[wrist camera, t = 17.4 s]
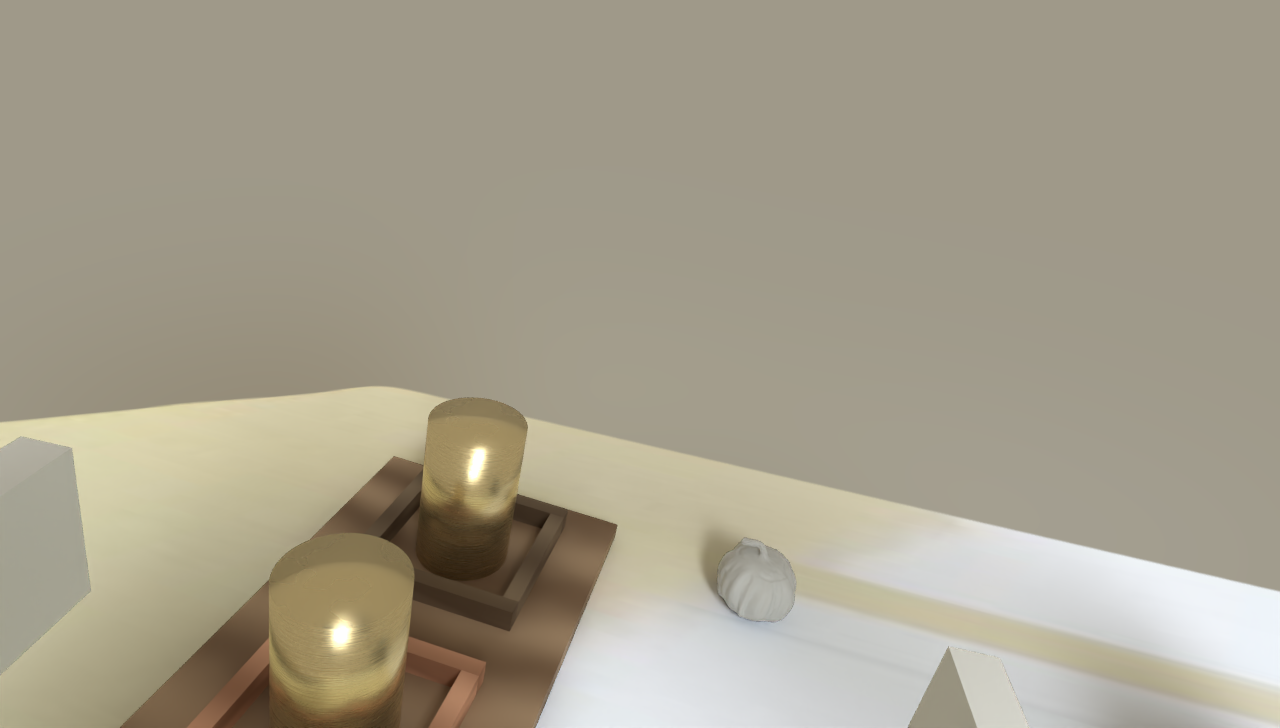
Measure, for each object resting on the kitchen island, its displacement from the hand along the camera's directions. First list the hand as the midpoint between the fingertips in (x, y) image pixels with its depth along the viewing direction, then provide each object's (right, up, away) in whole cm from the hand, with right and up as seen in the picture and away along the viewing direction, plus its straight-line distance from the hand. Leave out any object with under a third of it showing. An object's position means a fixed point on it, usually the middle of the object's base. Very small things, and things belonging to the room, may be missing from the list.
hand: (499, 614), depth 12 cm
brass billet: (-13, -14, +27) cm, 33 cm away
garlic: (+10, -13, +43) cm, 46 cm away
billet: (-10, -9, +41) cm, 43 cm away
